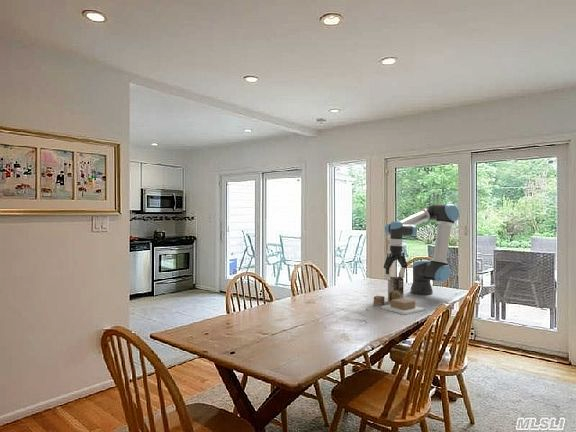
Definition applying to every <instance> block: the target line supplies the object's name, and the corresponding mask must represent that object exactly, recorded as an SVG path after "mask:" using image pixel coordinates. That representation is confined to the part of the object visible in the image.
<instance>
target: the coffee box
mask: <svg viewBox="0 0 576 432" xmlns="http://www.w3.org/2000/svg"><path fill="white" fill-rule="evenodd" d="M404 279H405V278H402V277H400V276H390V280H388V279H387V303H388V304H391V300H393V299H399V298H404ZM404 299H405V298H404Z"/></svg>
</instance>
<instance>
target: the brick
mask: <svg viewBox="0 0 576 432" xmlns="http://www.w3.org/2000/svg"><path fill="white" fill-rule="evenodd" d="M373 305H375V306H379V305H380V307H381V306H384V305H385V296H382V295H375V296H373Z"/></svg>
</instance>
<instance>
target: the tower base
mask: <svg viewBox="0 0 576 432" xmlns="http://www.w3.org/2000/svg"><path fill="white" fill-rule="evenodd" d="M380 308H381V309H383V310H387V311H390V312H394V313H398V314H402V315H405V316H406V315H410V314H414V313H420V312H423V311H424V312H425V311H426V308H425V307H422V306H421V307H420V306H417V305H416V301H415V300H412V299H408V298H399V299H393V300H391V303H388V304H384V305H382V306H380Z"/></svg>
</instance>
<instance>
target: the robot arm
mask: <svg viewBox="0 0 576 432" xmlns="http://www.w3.org/2000/svg"><path fill="white" fill-rule="evenodd" d="M459 218H460V210H459V208H458V207H457V206H456V204H452V203H442V204H441V203H435V204H432V205H428V206H425V207H424V208H421V209H420V210H419V211H418V212H416V213H414V214H411V215H409V216H407V217H405V218H402V219H400V220H399V221H391V222H390V223H387V224H385V226H384V232H385V234H387V235H390V242H389V243H390V246H389V251H390V253H387V254H386V259H385V262H384V264H383V269H385V274H386V275H385V279H386V280H387V281H388V280H390V277H391V267H392V265H393V263H394V262H395V261H398V263H399V265H400V276H399V277H402V278H403V279H405V271H406V269H407V267H408V263H407V259H406V256H405V252H403V237H413V236H415V235H416V234H418V233H417V232H418V228H417V225H419V224H422V223H423V222H424V223H426V222H430V221H436V223H437V231H436V236H435V243H434V250H433V251H434V252H433V256H432V259H430V260H416V261H414V262H413V266H412V268H413V269H412V277H413V278H412V280H413V281H412V284H411V286H410V292H411V293H412V294H414V295H422V296H423V295H424V296H427V295H433V292H434V291H433V288H432V284H431V281H435V282H438V283H439V282H440V283H441V282H442V283H444V282H447V280H448V279H449V278H450V277H451V272H452V270H451V267H450V266H449V262H448V261H447V257H448V250H449V245H450V237H451V229H452V226H454V224H455V222H457V221H458V220H459Z"/></svg>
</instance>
